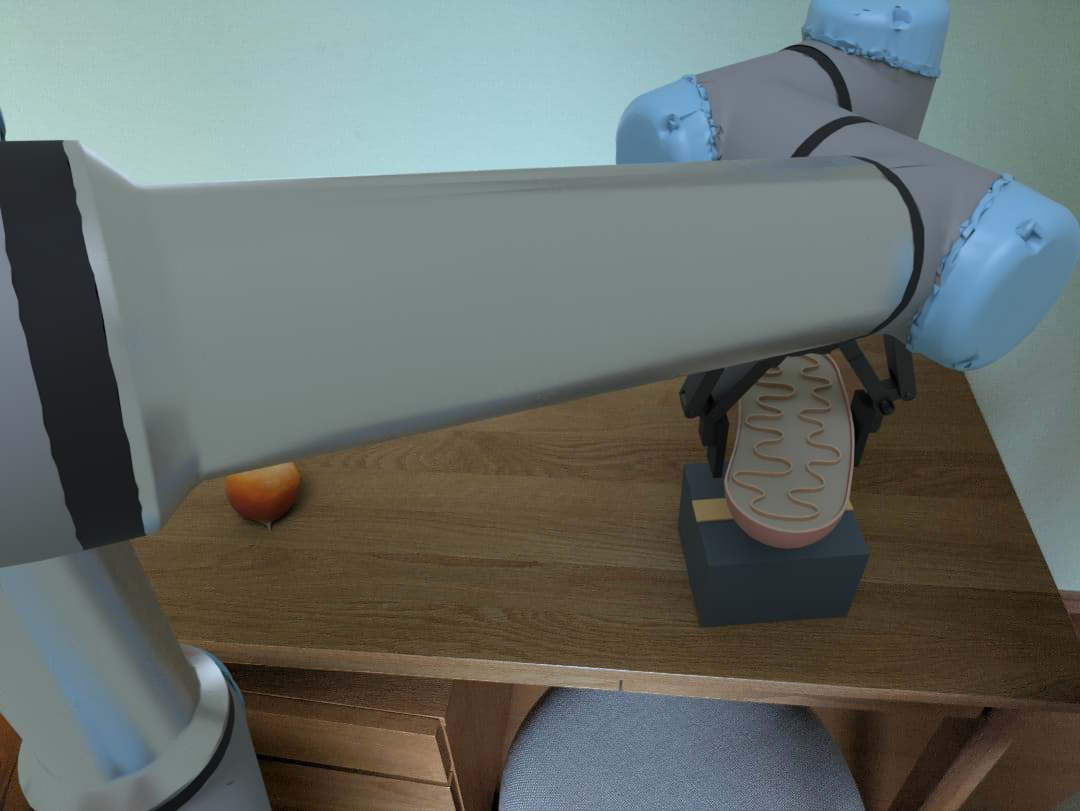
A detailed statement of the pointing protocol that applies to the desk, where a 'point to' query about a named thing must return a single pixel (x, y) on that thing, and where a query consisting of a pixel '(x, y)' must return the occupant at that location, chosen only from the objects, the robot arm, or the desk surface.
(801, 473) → the anatomical model
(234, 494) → the fruit
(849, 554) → the dark blue box
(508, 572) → the desk surface
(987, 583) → the desk surface
